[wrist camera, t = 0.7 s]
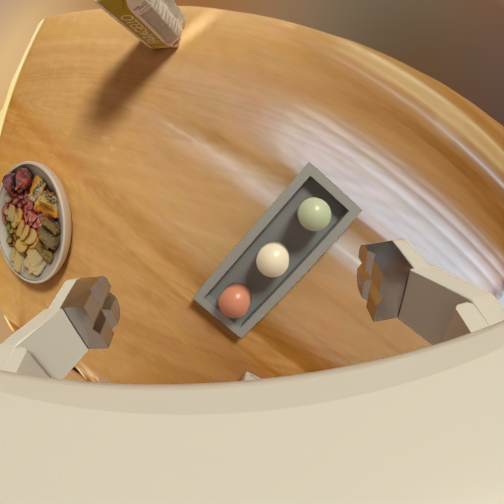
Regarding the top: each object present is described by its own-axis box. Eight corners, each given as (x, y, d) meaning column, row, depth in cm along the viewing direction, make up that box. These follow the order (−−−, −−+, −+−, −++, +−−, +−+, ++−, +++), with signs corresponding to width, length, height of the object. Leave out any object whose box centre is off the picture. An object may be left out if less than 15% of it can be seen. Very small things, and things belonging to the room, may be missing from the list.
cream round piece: (295, 254, 52) (295, 260, 48) (275, 276, 53) (274, 283, 49) (272, 235, 52) (270, 238, 48) (252, 257, 53) (249, 262, 49)
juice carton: (157, 19, 48) (103, -37, 25) (191, 16, 47) (145, -49, 24) (147, 53, 50) (83, 4, 27) (181, 51, 49) (126, -8, 26)
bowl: (97, 247, 61) (76, 255, 53) (33, 294, 67) (14, 303, 59) (53, 137, 57) (31, 134, 49) (-3, 201, 63) (-22, 203, 55)
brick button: (257, 295, 54) (254, 303, 50) (239, 314, 55) (235, 323, 52) (235, 276, 54) (231, 283, 50) (217, 296, 55) (212, 304, 51)
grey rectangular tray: (357, 208, 52) (362, 210, 48) (244, 329, 60) (241, 338, 56) (307, 163, 52) (309, 161, 48) (198, 291, 59) (192, 298, 55)
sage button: (334, 211, 49) (337, 213, 46) (313, 234, 51) (315, 238, 47) (311, 190, 49) (313, 190, 45) (291, 213, 50) (291, 215, 47)
